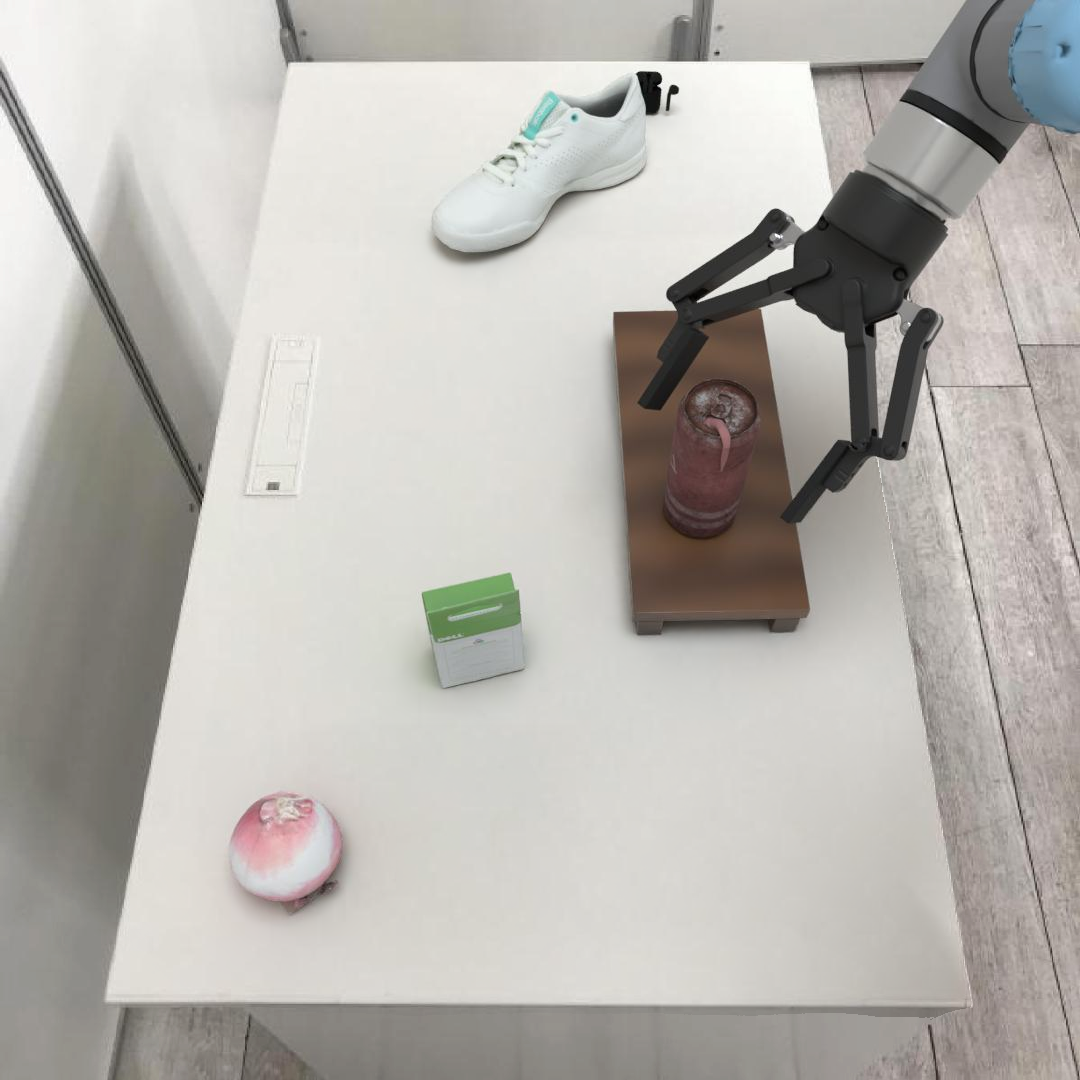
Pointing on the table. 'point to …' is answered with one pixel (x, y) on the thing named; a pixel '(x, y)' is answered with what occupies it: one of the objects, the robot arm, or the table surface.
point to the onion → (285, 848)
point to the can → (710, 456)
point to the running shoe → (547, 166)
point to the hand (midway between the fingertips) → (716, 461)
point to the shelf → (757, 531)
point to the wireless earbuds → (654, 90)
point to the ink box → (475, 629)
